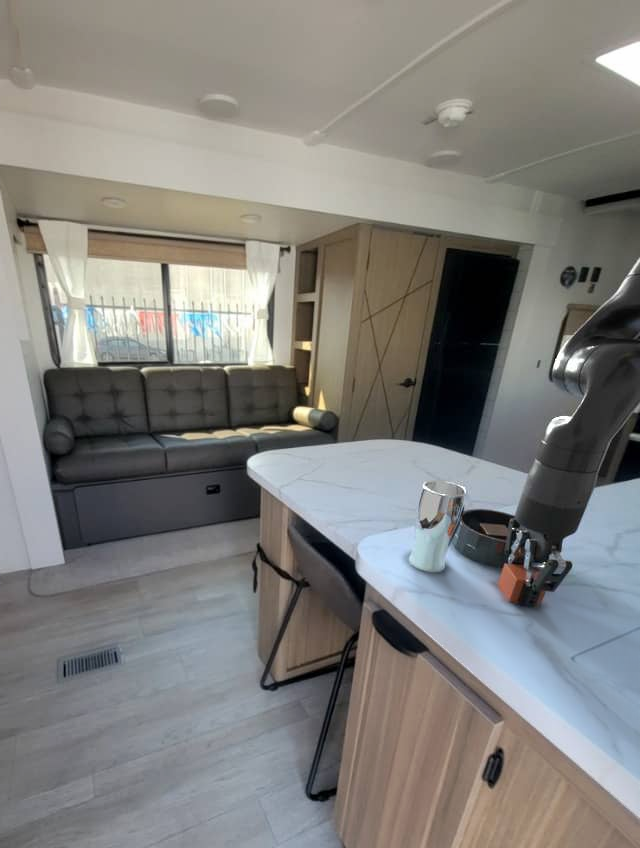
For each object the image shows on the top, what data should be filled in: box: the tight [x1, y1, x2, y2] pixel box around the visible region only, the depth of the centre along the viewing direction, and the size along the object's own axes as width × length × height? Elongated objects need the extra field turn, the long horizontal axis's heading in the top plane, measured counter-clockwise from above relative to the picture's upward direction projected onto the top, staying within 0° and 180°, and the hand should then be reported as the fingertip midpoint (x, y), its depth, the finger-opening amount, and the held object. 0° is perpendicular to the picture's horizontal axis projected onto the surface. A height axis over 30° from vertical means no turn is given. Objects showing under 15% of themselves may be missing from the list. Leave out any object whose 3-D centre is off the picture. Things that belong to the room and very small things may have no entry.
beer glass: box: [408, 480, 468, 573], centre depth 68 cm, size 7×7×15 cm
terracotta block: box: [497, 563, 549, 606], centre depth 62 cm, size 4×4×4 cm
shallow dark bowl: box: [451, 508, 515, 569], centre depth 75 cm, size 13×13×6 cm
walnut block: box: [477, 523, 508, 541], centre depth 75 cm, size 4×4×4 cm
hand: (518, 594), depth 63 cm, fingers closed on terracotta block, 4 cm apart
